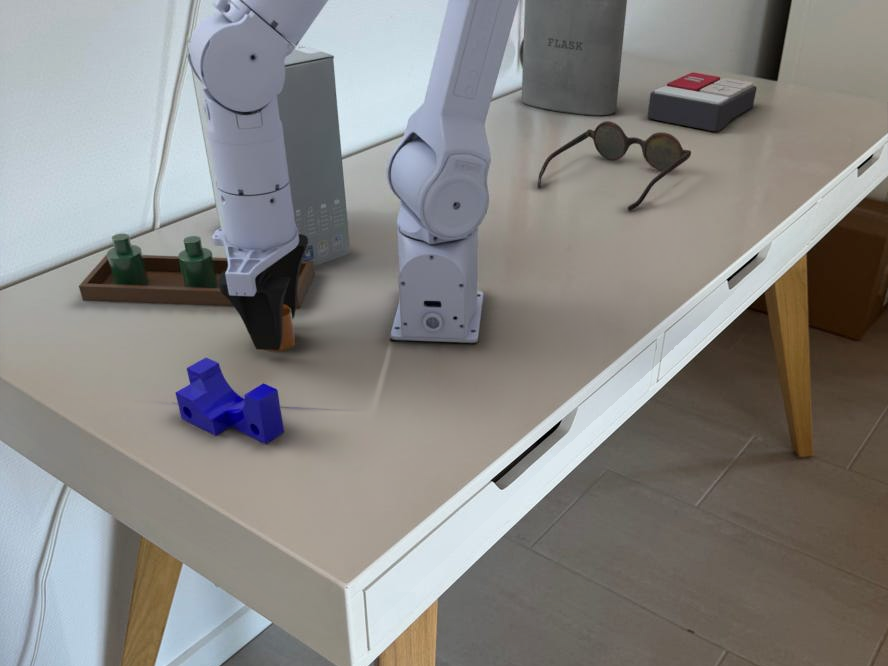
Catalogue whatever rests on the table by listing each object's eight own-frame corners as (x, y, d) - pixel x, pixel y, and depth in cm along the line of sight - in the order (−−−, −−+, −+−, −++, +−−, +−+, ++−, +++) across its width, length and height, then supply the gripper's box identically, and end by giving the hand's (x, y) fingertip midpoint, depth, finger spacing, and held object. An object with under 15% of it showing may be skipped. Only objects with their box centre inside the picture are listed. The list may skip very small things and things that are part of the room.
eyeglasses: (687, 175, 116) (693, 135, 113) (636, 213, 106) (641, 171, 103) (586, 153, 122) (589, 114, 119) (529, 187, 112) (531, 146, 109)
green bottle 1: (142, 292, 89) (130, 244, 86) (110, 291, 89) (97, 243, 86) (153, 277, 91) (142, 230, 88) (122, 276, 92) (110, 229, 88)
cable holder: (181, 418, 73) (171, 376, 71) (214, 398, 75) (206, 357, 73) (251, 453, 70) (243, 410, 67) (284, 432, 72) (277, 389, 69)
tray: (299, 312, 87) (297, 294, 86) (83, 303, 88) (78, 285, 87) (315, 278, 93) (313, 260, 91) (111, 270, 94) (107, 253, 92)
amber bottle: (291, 355, 81) (284, 305, 78) (255, 354, 81) (247, 303, 78) (299, 337, 83) (292, 288, 80) (264, 336, 83) (256, 286, 80)
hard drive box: (353, 256, 97) (337, 55, 84) (292, 277, 93) (265, 69, 80) (275, 212, 106) (250, 24, 93) (216, 229, 102) (181, 36, 89)
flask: (514, 105, 138) (518, -45, 125) (528, 95, 142) (534, -52, 129) (608, 119, 133) (622, -36, 120) (620, 108, 137) (635, -43, 125)
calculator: (759, 81, 136) (722, 100, 126) (752, 111, 139) (716, 132, 128) (690, 69, 141) (650, 87, 131) (685, 98, 143) (645, 118, 133)
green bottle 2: (212, 295, 89) (203, 247, 86) (180, 293, 89) (170, 245, 86) (222, 280, 91) (213, 232, 88) (190, 279, 91) (180, 231, 88)
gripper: (229, 149, 78) (252, 292, 87) (174, 217, 67) (207, 373, 76) (309, 152, 78) (325, 295, 87) (268, 220, 67) (291, 376, 75)
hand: (275, 332), depth 81 cm, fingers open, 5 cm apart
